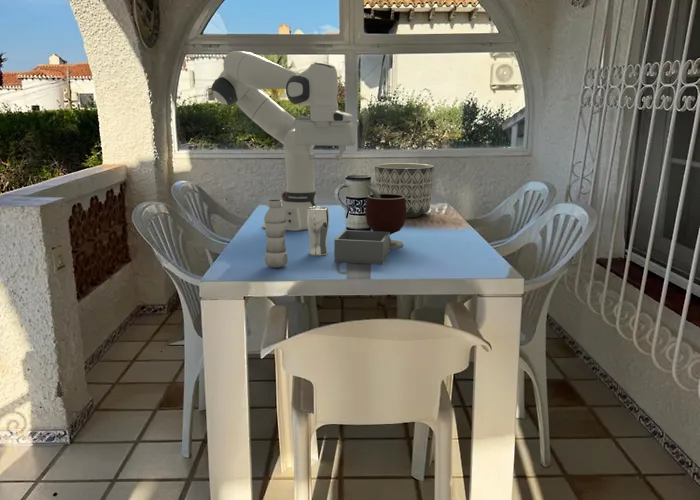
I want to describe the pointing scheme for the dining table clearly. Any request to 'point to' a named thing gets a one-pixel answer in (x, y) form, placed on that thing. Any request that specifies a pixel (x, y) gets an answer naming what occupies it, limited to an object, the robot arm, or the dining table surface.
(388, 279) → the dining table surface
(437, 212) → the dining table surface
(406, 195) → the planter
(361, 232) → the bin
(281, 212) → the plastic bottle
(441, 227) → the dining table surface
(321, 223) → the beer glass
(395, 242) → the mate gourd
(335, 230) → the dining table surface
